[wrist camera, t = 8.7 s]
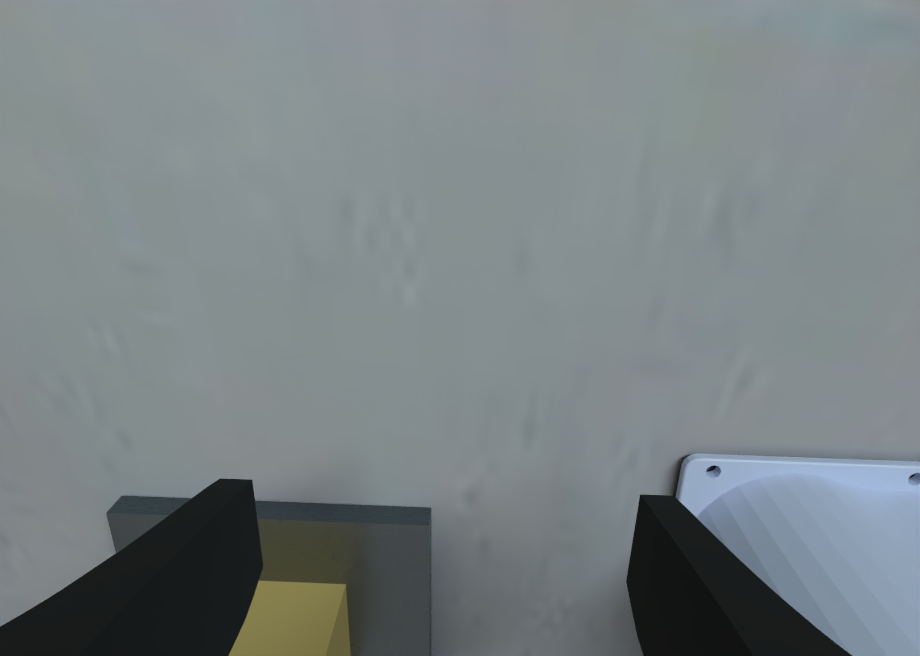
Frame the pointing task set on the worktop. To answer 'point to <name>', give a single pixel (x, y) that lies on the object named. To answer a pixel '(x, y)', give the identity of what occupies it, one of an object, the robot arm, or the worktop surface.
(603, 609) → the worktop surface
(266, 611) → the yellow square planter
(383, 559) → the grey square base plate
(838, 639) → the robot arm
